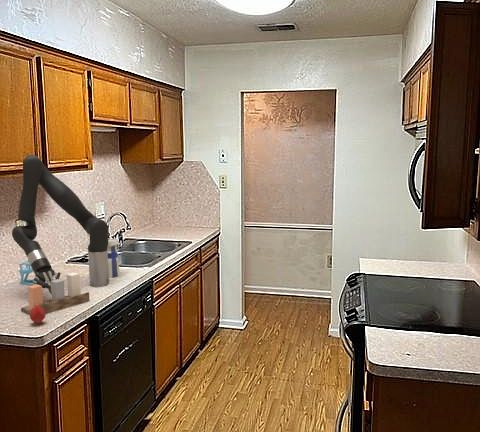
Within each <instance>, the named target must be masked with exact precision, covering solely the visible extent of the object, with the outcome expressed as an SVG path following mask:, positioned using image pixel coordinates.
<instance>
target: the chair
mask: <svg viewBox="0 0 480 432" xmlns="http://www.w3.org/2000/svg"><path fill="white" fill-rule="evenodd" d="M18 265H19V268H20V270H18V274H20V284H23V285H27V286H32V285H35V284H34V283H33V282H32V281H33V280H34V279H28V278H29V276H30V274H31V273H34V271H33V269H32V267H31V265H30V264H29V261H28V260H27V261H24V262H21V263H19V264H18ZM23 265H24V266H25V267H24V268H23V267H22V266H23ZM31 282H32V283H31Z"/></svg>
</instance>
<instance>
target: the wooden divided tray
mask: <svg viewBox="0 0 480 432" xmlns="http://www.w3.org/2000/svg"><path fill="white" fill-rule="evenodd" d="M90 301H91V300H90V291H89V292H85V293H82V294H80V295H76V296H73V297H70V296H68V294H65V299H62V300H58V301H55V302H52V299H48V300H43V305H40V306H39V307H42V308H43V309H44V310H45V314H50V313H53V311H54V312H57V311H61V310H63V308H64V309H66V308H67V307H68V308H71V307H74V305H75V306H78V305H82V304H85V303H88V302H90ZM84 302H85V303H84ZM70 306H71V307H70ZM33 308H34V307H33ZM33 308H32V309H33ZM60 309H61V310H60ZM20 311H21V312H22V313H24V314H26V315H28V316H30V312H31V310H30V309H29V305H26V306H22V307H20Z"/></svg>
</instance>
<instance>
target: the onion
mask: <svg viewBox="0 0 480 432" xmlns="http://www.w3.org/2000/svg"><path fill="white" fill-rule="evenodd" d="M45 318H46V314H45V310H44V309H43V308H42V307H39V305H38V304H37V305H36V306H35V307H34V308H33V309H32V310H31V312H30V315H29V319H30V321H32V322H33V323H35V324H37V325H40V324H41V323H42V322H43V320H44V319H45Z"/></svg>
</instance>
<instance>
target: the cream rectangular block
mask: <svg viewBox="0 0 480 432" xmlns="http://www.w3.org/2000/svg"><path fill="white" fill-rule="evenodd" d="M80 277H81V276H80V273H77V272H71V273H67V274H66V283H67V284H66V286H67V288H66V289H67V295H68V296H70V297H73V296H76V295H80V294H81V278H80Z"/></svg>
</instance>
